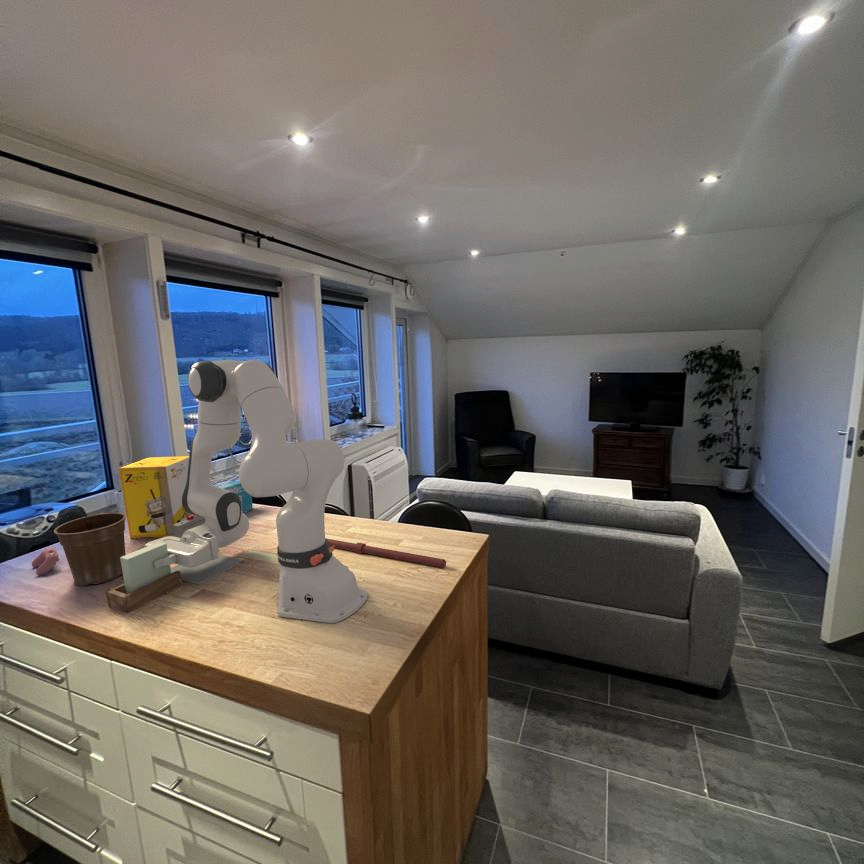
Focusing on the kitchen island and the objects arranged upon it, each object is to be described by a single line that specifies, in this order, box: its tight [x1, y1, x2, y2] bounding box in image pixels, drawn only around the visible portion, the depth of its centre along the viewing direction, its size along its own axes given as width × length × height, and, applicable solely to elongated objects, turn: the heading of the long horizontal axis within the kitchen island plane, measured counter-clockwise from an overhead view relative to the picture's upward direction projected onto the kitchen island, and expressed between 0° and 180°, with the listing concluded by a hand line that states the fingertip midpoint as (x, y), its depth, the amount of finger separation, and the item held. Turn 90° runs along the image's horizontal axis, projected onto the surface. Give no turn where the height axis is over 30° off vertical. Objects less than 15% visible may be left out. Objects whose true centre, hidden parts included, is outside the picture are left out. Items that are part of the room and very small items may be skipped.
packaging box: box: [118, 455, 193, 539], centre depth 161 cm, size 16×16×25 cm
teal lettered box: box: [217, 480, 253, 513], centre depth 176 cm, size 12×4×12 cm, turn 144°
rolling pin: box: [325, 537, 447, 569], centre depth 134 cm, size 45×3×3 cm, turn 64°
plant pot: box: [53, 512, 127, 587], centre depth 127 cm, size 16×16×16 cm
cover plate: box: [120, 542, 171, 594], centre depth 116 cm, size 3×10×12 cm, turn 154°
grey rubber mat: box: [170, 553, 245, 585], centre depth 131 cm, size 16×15×1 cm
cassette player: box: [172, 515, 205, 538], centre depth 149 cm, size 16×3×10 cm, turn 160°
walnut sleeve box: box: [105, 571, 183, 614], centre depth 116 cm, size 8×14×4 cm, turn 154°
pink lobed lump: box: [31, 547, 61, 576], centre depth 134 cm, size 10×5×7 cm, turn 48°
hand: (148, 563), depth 116 cm, fingers closed on cover plate, 3 cm apart
